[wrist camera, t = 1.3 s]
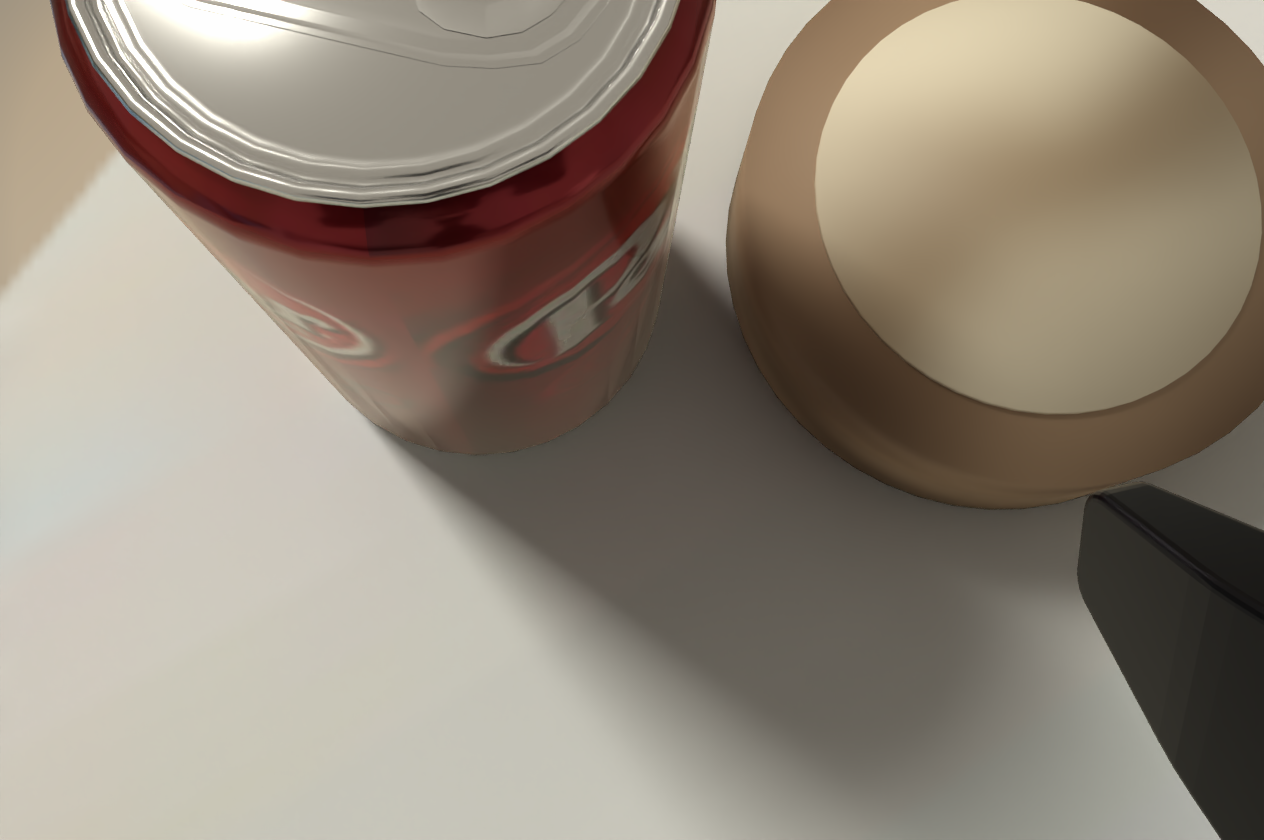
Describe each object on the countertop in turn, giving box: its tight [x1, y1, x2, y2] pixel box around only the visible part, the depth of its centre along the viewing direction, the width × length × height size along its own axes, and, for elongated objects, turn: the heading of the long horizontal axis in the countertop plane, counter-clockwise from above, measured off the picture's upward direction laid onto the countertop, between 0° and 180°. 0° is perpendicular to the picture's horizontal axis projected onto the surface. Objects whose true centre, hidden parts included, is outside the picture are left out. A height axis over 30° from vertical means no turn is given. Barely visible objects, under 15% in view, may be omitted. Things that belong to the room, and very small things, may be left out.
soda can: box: [50, 0, 716, 455], centre depth 17 cm, size 7×7×12 cm
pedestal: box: [726, 0, 1264, 509], centre depth 22 cm, size 11×11×3 cm
